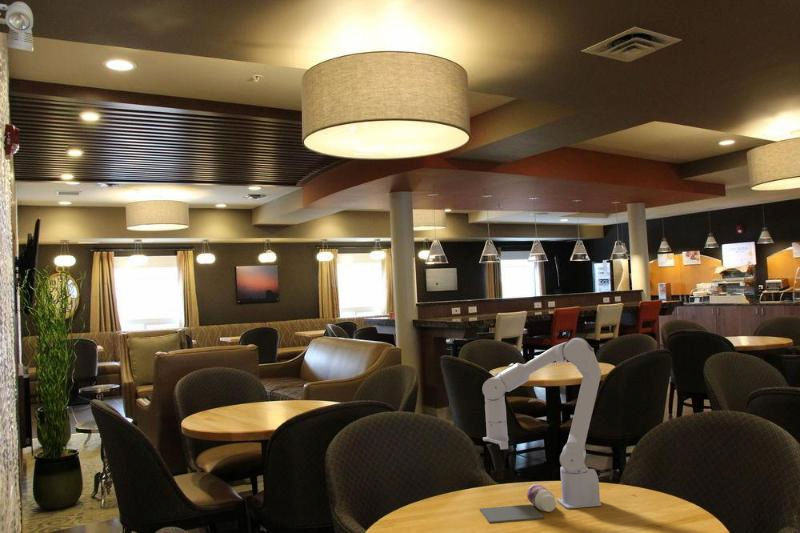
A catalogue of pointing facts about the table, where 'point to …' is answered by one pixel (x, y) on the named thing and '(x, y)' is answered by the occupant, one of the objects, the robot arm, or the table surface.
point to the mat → (511, 513)
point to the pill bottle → (541, 498)
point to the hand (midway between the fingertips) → (499, 470)
